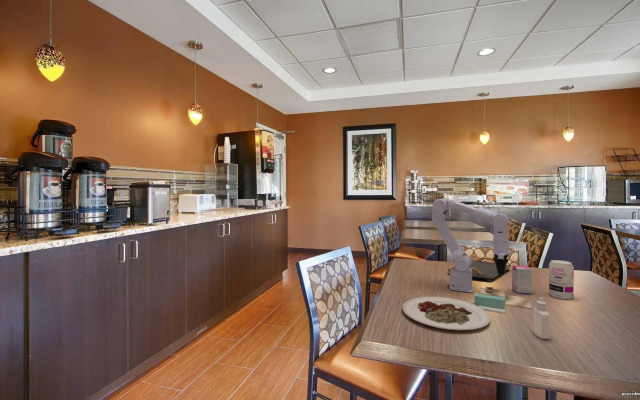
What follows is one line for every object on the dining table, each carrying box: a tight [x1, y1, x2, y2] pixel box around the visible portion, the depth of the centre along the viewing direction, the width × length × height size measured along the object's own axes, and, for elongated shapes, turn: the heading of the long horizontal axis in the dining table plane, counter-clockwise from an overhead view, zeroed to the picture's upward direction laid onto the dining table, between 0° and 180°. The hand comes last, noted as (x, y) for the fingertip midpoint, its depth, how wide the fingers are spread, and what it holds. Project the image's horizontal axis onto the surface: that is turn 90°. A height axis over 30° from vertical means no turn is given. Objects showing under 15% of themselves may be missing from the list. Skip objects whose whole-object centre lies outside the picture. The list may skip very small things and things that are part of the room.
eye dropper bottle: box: [532, 297, 551, 340], centre depth 94 cm, size 4×6×12 cm
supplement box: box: [511, 265, 533, 295], centre depth 134 cm, size 6×6×12 cm
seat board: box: [479, 286, 532, 310], centre depth 125 cm, size 18×12×4 cm, turn 58°
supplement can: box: [548, 259, 575, 301], centre depth 127 cm, size 8×8×15 cm
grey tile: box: [477, 305, 506, 315], centre depth 117 cm, size 9×9×1 cm
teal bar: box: [473, 292, 506, 310], centre depth 118 cm, size 10×4×4 cm, turn 58°
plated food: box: [402, 296, 491, 331], centre depth 111 cm, size 30×30×3 cm
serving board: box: [447, 256, 511, 283], centre depth 168 cm, size 39×23×6 cm, turn 133°
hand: (500, 272), depth 130 cm, fingers open, 7 cm apart
